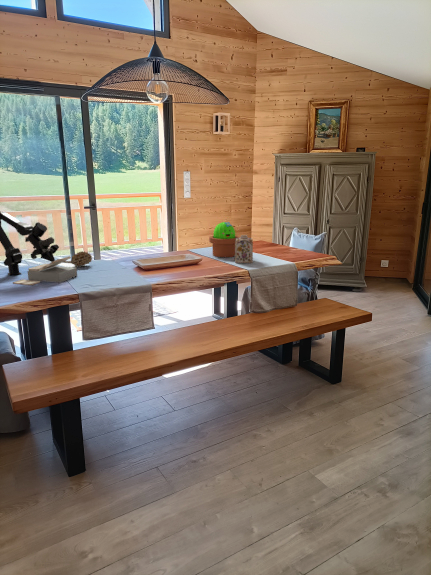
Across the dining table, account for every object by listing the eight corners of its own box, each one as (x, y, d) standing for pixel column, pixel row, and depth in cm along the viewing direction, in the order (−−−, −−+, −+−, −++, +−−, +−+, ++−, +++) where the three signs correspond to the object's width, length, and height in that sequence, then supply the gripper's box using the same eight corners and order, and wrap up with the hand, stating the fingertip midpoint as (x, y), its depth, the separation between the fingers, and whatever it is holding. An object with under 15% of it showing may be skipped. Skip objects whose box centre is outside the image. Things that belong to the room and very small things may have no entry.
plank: (13, 284, 232) (12, 282, 232) (22, 281, 239) (22, 279, 238) (31, 286, 228) (31, 284, 228) (40, 283, 235) (40, 281, 234)
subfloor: (28, 279, 240) (27, 268, 238) (47, 273, 255) (46, 263, 253) (59, 282, 233) (58, 271, 232) (77, 275, 248) (76, 265, 246)
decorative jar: (252, 263, 279) (253, 236, 274) (235, 263, 280) (235, 236, 275) (251, 259, 291) (252, 234, 286) (234, 259, 291) (235, 234, 286)
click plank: (39, 271, 237) (38, 269, 237) (55, 265, 250) (54, 264, 250) (55, 262, 232) (54, 260, 232) (70, 257, 245) (69, 256, 245)
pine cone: (92, 264, 280) (90, 249, 277) (93, 267, 271) (92, 252, 268) (57, 266, 272) (55, 251, 269) (57, 270, 263) (55, 254, 261)
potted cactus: (206, 253, 313) (205, 220, 306) (233, 251, 320) (233, 219, 313) (214, 259, 293) (214, 223, 286) (243, 257, 299) (244, 222, 293)
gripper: (32, 235, 229) (50, 256, 229) (54, 230, 246) (72, 250, 246) (22, 248, 234) (40, 269, 233) (45, 243, 251) (62, 262, 250)
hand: (54, 262), depth 241 cm, fingers closed, pressing on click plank
